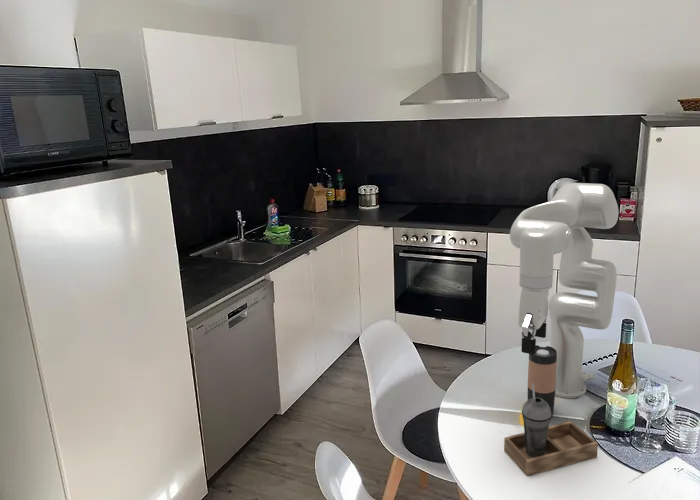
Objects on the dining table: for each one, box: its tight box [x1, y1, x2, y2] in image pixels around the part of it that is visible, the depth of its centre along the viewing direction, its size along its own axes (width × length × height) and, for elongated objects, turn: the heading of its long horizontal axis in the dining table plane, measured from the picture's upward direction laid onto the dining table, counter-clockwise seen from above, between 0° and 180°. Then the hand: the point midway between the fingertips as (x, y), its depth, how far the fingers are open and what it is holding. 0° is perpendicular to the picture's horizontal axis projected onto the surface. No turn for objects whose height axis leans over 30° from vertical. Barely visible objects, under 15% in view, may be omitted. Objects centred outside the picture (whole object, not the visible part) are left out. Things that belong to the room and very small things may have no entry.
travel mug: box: [527, 344, 557, 417], centre depth 160 cm, size 8×8×20 cm
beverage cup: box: [521, 383, 553, 458], centre depth 142 cm, size 7×7×20 cm
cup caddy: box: [503, 420, 599, 477], centre depth 144 cm, size 20×11×4 cm, turn 106°
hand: (533, 344), depth 138 cm, fingers open, 9 cm apart
